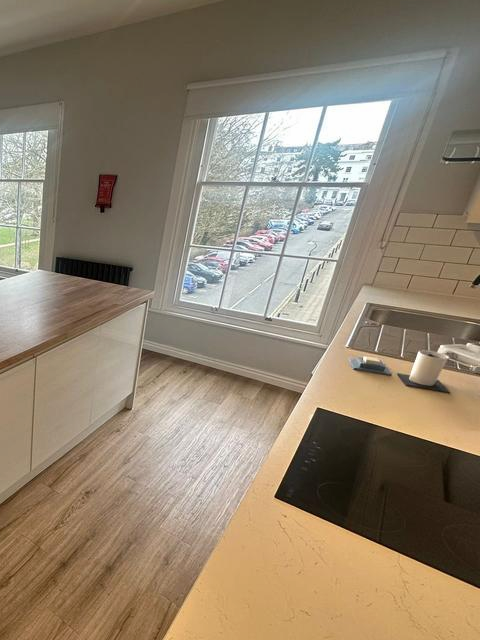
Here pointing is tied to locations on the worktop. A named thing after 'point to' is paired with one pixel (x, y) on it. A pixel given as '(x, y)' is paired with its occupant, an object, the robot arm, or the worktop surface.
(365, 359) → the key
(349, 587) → the worktop surface
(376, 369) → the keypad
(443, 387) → the coaster
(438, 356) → the white mug
